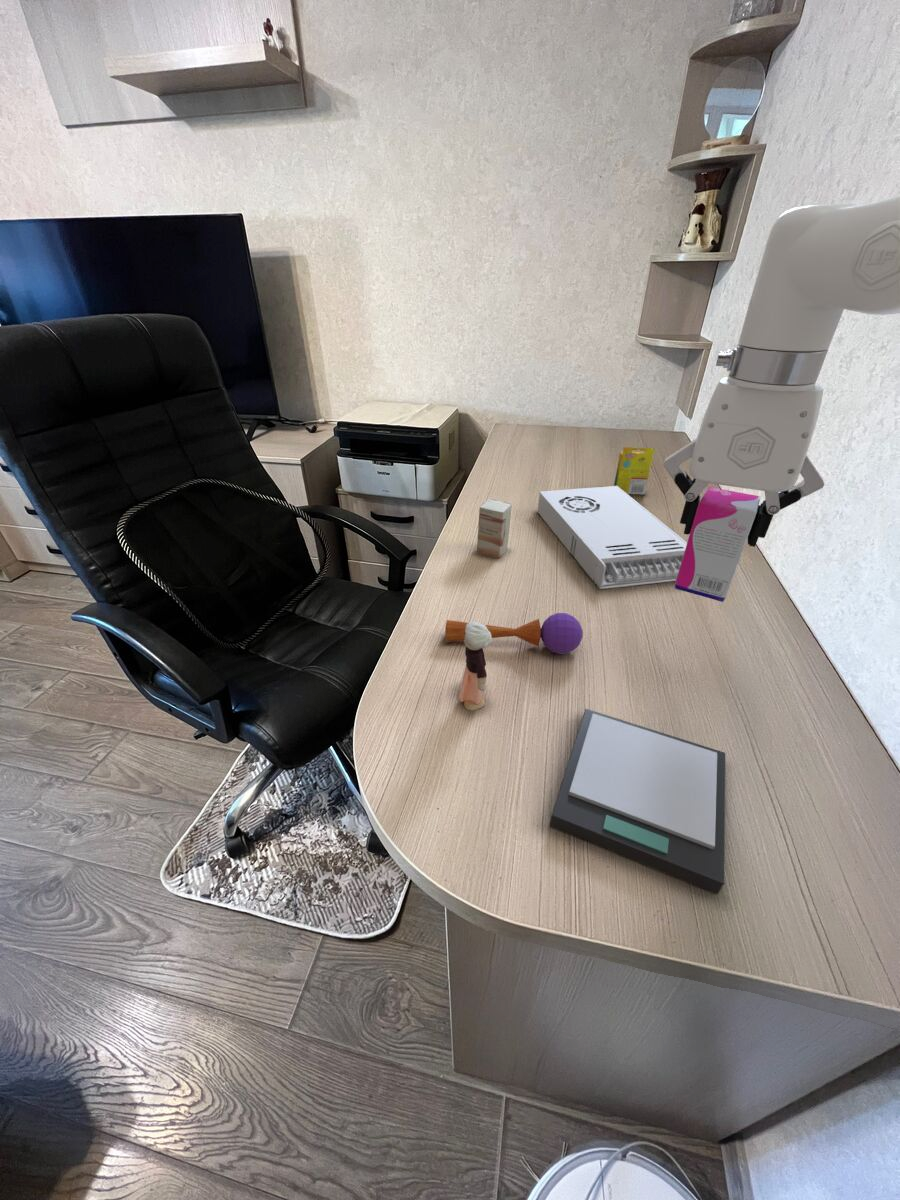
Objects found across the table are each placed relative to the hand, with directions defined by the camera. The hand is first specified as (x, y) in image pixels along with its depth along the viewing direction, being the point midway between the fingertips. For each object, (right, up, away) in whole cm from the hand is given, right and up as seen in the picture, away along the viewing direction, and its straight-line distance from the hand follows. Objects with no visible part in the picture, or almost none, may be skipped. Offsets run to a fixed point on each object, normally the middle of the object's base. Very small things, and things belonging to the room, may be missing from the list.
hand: (719, 534), depth 58 cm
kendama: (-22, -15, +18) cm, 32 cm away
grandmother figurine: (-28, -21, +8) cm, 36 cm away
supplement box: (0, -6, +4) cm, 7 cm away
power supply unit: (+1, +4, +45) cm, 45 cm away
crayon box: (+13, +19, +67) cm, 71 cm away
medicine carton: (-23, +2, +41) cm, 47 cm away
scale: (-10, -29, -3) cm, 31 cm away
